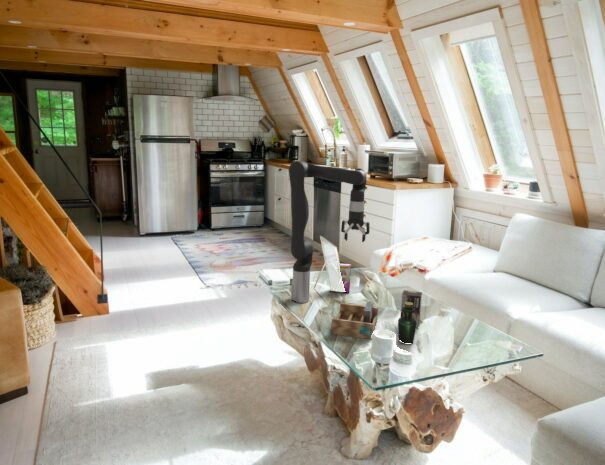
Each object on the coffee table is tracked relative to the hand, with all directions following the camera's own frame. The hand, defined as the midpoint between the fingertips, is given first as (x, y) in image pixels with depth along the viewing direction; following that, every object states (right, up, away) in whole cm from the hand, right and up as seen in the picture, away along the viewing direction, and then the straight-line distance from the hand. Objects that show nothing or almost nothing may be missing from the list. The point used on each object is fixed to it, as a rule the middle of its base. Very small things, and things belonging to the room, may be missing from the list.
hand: (354, 241), depth 247 cm
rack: (-2, -41, -18) cm, 44 cm away
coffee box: (+25, -41, -12) cm, 49 cm away
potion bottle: (+19, -45, -32) cm, 58 cm away
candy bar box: (-5, -30, +33) cm, 45 cm away
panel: (+4, -40, -19) cm, 45 cm away
